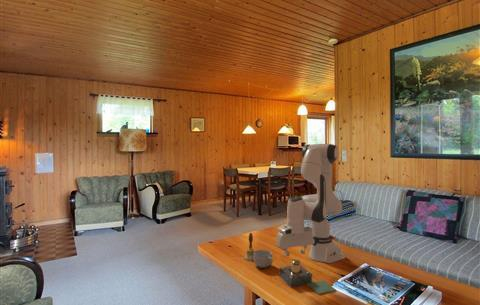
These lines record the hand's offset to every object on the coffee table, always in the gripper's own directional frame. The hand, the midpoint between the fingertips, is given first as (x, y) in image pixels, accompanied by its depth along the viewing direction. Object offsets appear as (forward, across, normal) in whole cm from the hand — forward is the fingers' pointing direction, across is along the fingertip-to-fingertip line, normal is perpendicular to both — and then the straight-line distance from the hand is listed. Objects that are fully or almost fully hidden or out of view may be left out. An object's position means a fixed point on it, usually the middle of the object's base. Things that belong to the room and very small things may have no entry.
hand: (295, 254), depth 142 cm
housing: (+14, -1, 0) cm, 14 cm away
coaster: (+14, -9, +10) cm, 19 cm away
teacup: (+14, +8, -20) cm, 26 cm away
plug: (+14, -1, 0) cm, 14 cm away
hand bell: (+14, +11, -34) cm, 39 cm away
